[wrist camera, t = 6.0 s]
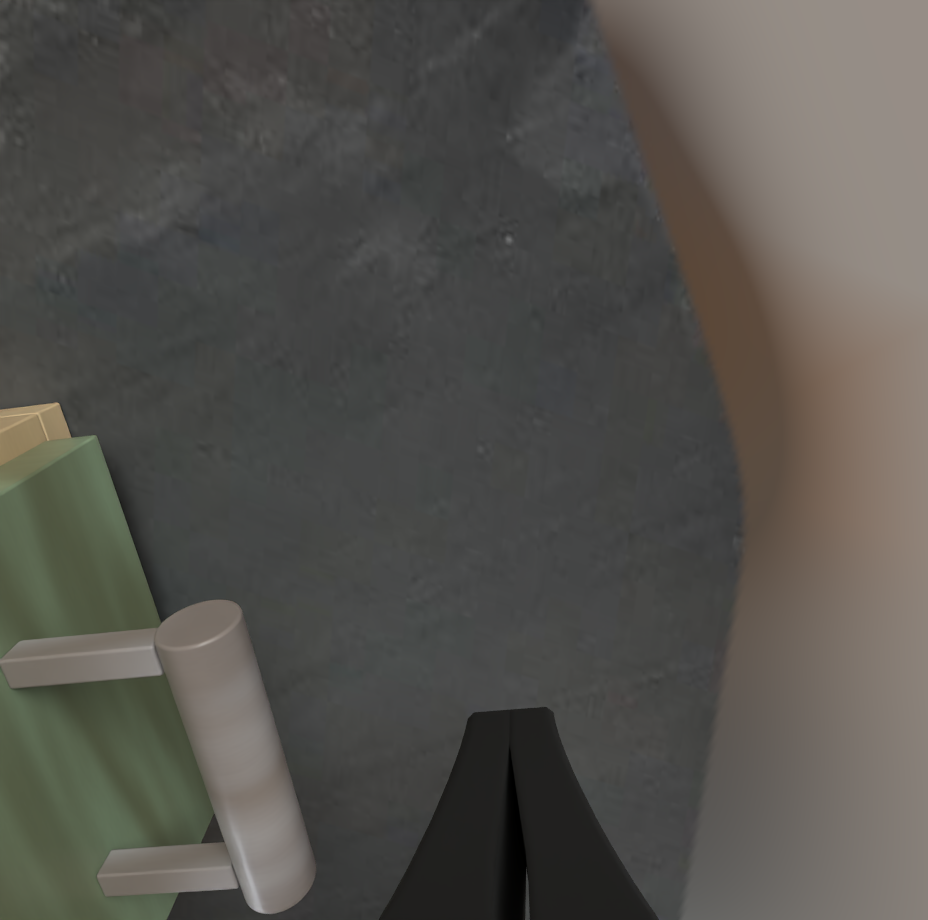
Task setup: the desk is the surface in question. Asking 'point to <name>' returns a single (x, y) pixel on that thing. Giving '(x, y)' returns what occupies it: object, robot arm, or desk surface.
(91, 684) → the drawer
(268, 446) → the desk surface
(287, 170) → the desk surface
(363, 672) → the desk surface
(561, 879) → the robot arm
